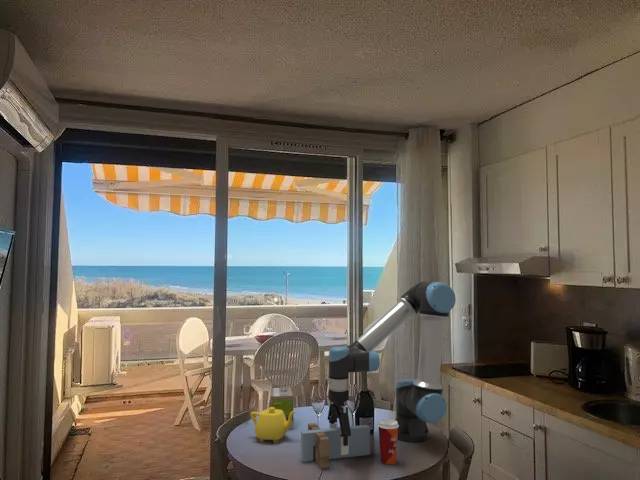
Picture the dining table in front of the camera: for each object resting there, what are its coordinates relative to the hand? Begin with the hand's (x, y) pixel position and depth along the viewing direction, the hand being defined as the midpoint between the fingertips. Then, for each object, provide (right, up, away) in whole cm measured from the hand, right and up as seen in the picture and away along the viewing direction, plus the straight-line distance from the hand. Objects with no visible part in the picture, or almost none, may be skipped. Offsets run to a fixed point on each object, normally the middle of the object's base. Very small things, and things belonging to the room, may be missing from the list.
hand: (338, 447), depth 175 cm
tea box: (-24, -6, +36) cm, 44 cm away
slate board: (-1, -3, -1) cm, 3 cm away
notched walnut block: (-8, -3, -2) cm, 9 cm away
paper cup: (+18, -3, -4) cm, 19 cm away
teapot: (-26, -5, +18) cm, 32 cm away
